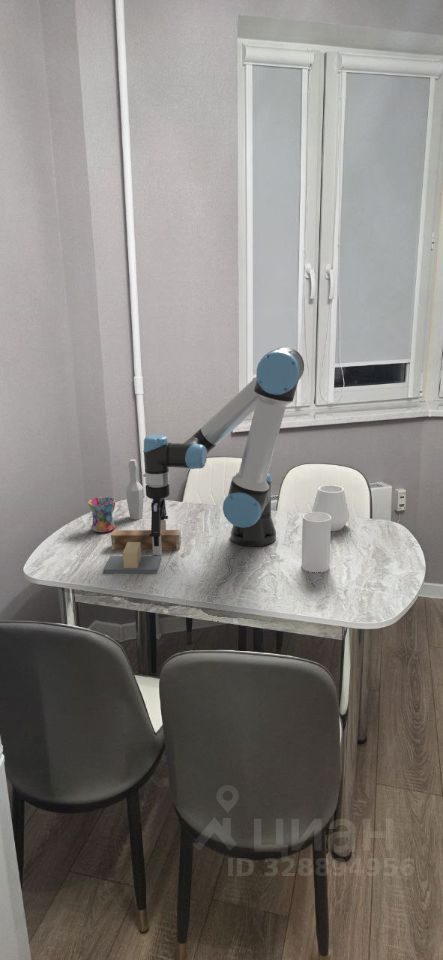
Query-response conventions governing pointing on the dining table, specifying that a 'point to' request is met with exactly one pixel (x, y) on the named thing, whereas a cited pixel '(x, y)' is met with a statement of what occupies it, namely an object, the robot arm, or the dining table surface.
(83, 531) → the dining table surface
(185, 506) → the dining table surface
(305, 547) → the cup
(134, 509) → the low poly bottle
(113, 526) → the mug
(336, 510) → the white tapered vase
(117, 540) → the beam
